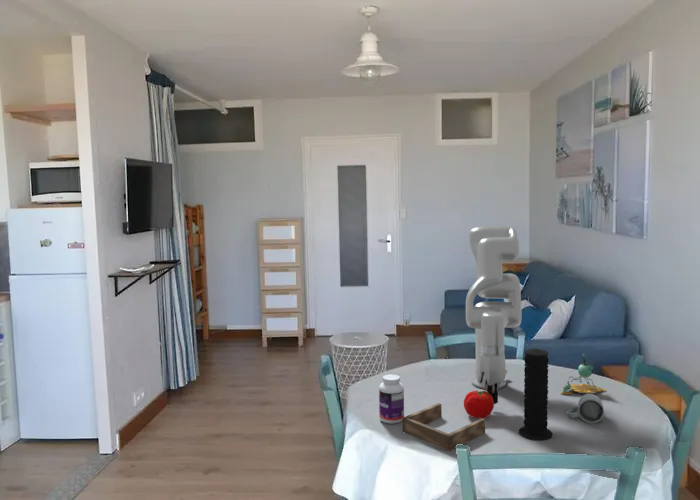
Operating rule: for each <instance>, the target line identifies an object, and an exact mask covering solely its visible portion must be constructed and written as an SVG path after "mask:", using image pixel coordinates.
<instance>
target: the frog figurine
mask: <svg viewBox="0 0 700 500" xmlns="http://www.w3.org/2000/svg"><path fill="white" fill-rule="evenodd" d="M582 360H583V361H581V364H579V366H578V369H577V372H578V375H579V377H573V376H569V377H568V379H570V378H572V379H571V381H569V380H567V384H565V385H563V386H562V388H563V389H562V391H560V395H563V396H564V395H565V396H567V395H574V392H578V394H596V393H601V392H606V391H607V389H605V388H603V387H599V386H597V385H595V384H594V383H593V381H592V379H591V378H590V377H591V376H592V374H593V373H594V364H593V363H591V364H589V363H588V362H587V358H586V354H585V353H582ZM582 378H583V379H584V380H585V381H586V383H582V382H583V380H582ZM573 381H579V382H580V384H575V383H572V382H573ZM590 381H591V383H592V384H590ZM569 390H571V391H569ZM572 391H573V392H572Z"/></svg>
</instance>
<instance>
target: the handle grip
mask: <svg viewBox="0 0 700 500" xmlns="http://www.w3.org/2000/svg"><path fill="white" fill-rule="evenodd" d="M548 355H549V351H548V350H546V349H545V350H544V349H541V348H527V349H525V350H524V358H523V359H524V365H523V366H524V369H523V370H524V371H523V372H524V379H523V380H524V381H523V382H524V383H523V386H524V390H523V393H524V395H523V397H524V399H523V403H524V404H523V405H524V406H523V407H524V408H523V413H524V414H523V417H524V419H523V426H521V427H520V428H519V429H518V432H517V433H518V435H520V436H521V438H523V439H524V438H525V439H526V440H530V441H536V442H537V441H539V442H541V441H548V440H551V439H552V438H553V436H554V435H553V432H552V431H551V430H550V429H549V428H548V414H549V411H548V409H549V407H548V403H549V401H548V399H549V396H548V394H549V390H548V389H549V386H548V384H549V376H548V375H549V357H548Z"/></svg>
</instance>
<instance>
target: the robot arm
mask: <svg viewBox="0 0 700 500" xmlns="http://www.w3.org/2000/svg"><path fill="white" fill-rule="evenodd" d="M518 237H519V236H518V232H517V229H516V228H515V227H513V226H510V225H509V226H508V225H506V226H505V225H504V226H503V225H500V226H491V225H490V226H487V225H486V226H476V227H474V228H472V229H471V230H470V231H469V233H468V239H469V245H470V249H471V252H472V255H473V257H474V260H475V264H476V265H475V266H476V281H475V282H474V283H473V284H472V286H470V288H469V289H468V292H467V294H466V298H465V322H466V323H465V324H466V325H467V326H468V327H469V328H471V329H474V332H475V376H474V377H473V378H471V384H472V386H474V387H476V388H479V389H482V390H485V391H486V392H487V393H489V394H490V395H491V396H492V397H493V401H494V405H496V404H498V403H499V390H500V389H502V388H504V387H505V386H506V383H507V382H506V380H505V379H506V375H507V374H508V370H507V368H506V367H507V366H506V357H505V328H508V329H511V328H518V327H520V325H521V323H522V318H523V317H522V315H523V314H522V312H523V311H522V295H521V291H522V290H521V281H520V278H519V277H518V276H517V275H516V274H514V273H503V262H504V261H506V262H507V261H512V262H514V261H516V260H518V258H519V256H520V241H519V238H518ZM477 295H478V296H479V297H480V298H481V299H482V298H483V299H496V300H497V299H503V300H506V301H480V302H478V303H475V305H474V301H475V298H476V296H477Z"/></svg>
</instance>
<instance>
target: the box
mask: <svg viewBox="0 0 700 500" xmlns="http://www.w3.org/2000/svg"><path fill="white" fill-rule="evenodd" d="M442 410H443V409H442V403H439V402H438V403H435V404H433V405H430V406H428V407H426V408H423V409H420V410H417V411H416V412H414V413H412V414H411V413H410V414H408V415H406V416H404V417H403V418H402V421H401V424H402V425H401V426H402V433H404V432H405V434H406V433H407V435H409V436H411V435H412V437H414V438H417V439H419V440H421V441H423V442H425V443H428V444H430V445H432V446H436V447H438V448H440V449H442V450H444V451H447V452H451V451H452V450H455V449H456V448H455V447H456V445H457V444H463V445H465V444H467V443H469V442H471V441H473V440H476V439H477V438H479V437H480V436H483V435H484V434H486V418H478V419H477V420H475V421H473V422H470V423H469V424H466V425H465V426H462V427H460V428H458V429H456V430H454V431H452V432H450V433H448V432H445V431H443V430H440V429H436V428H435V427H432V426H429V425H427V424H430V423H432V422H434V421H437V420H438V419H441V418H442Z"/></svg>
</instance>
